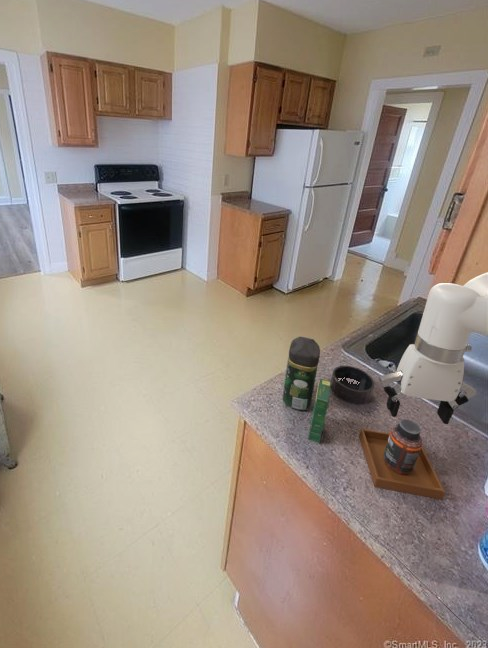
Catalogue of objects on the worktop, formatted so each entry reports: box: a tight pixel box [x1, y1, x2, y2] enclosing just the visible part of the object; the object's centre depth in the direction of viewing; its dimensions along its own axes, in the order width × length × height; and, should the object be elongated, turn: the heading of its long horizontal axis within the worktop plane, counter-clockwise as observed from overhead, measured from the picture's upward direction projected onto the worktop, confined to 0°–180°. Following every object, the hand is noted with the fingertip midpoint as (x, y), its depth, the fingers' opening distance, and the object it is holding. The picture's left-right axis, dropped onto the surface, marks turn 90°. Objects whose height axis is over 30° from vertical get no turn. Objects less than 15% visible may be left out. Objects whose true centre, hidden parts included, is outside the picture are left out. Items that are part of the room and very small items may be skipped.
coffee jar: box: [282, 336, 321, 411], centre depth 88 cm, size 10×8×19 cm
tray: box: [358, 428, 446, 501], centre depth 73 cm, size 13×13×2 cm
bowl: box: [330, 365, 375, 406], centre depth 94 cm, size 11×11×4 cm
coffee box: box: [307, 378, 331, 444], centre depth 79 cm, size 8×3×13 cm, turn 155°
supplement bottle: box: [383, 418, 423, 474], centre depth 71 cm, size 6×6×11 cm
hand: (416, 415), depth 68 cm, fingers open, 9 cm apart
